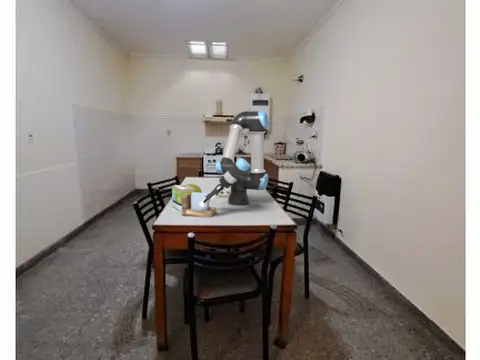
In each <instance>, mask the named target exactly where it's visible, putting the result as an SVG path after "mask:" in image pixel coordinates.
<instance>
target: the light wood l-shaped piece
mask: <svg viewBox="0 0 480 360" xmlns="http://www.w3.org/2000/svg"><path fill="white" fill-rule="evenodd" d="M191 194H192V193H187V194H185V195H183V196H182V211H181V216H182V217H197V218H207V219H208V218H212V217H213V216H214V215H216V214H217V207H216V206H215V207H214V206H209V210H195V209H191Z"/></svg>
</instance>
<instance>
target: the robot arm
mask: <svg viewBox="0 0 480 360" xmlns="http://www.w3.org/2000/svg"><path fill="white" fill-rule="evenodd" d="M269 127H270V121H269V116H268V113H267V112H266V111H260V110H259V111H258V110H257V111H255V110H253V111H251V110H250V111H247V110H246V111H241V112H239V113H238V114H236V115H235V116H234V117H233V119H231V122H230V125H229V133H228V137H227V140H226V143H225V146H224V150H223V153H222V157H221V160H219V161H216V164H215V172H216V173H217V174H222V176H221V177H220V178H219V180H218V181H219V184H217V185H216V186H215V187H214V189H212V190H211V191H210V192H208V193H209V194H208V195H207V196H206V197H205V198H204V199H203V200H202V201H201V202H200V203H199V205H200V206H201V207H203V206H204V205H205V204H206V203H207V202H208V201H209V203H210V202H211V201H213V199H214V198H215V197H216V196H217V197H218V196H219V194H220V192H222V191H223V190H224V189H229V188H230V192H229V195H228V199H227V203H228V204H230V205H234V206H235V205H236V206H245V205H248V204H249V203H250V200H249V196H248V190H255V191H265V190H266V188H267V187H268V183H269V174H268V173H267V171H266V169H264V168H265V167H264V166H265V165H264V161H265V159H264V153H265V152H264V149H265V148H264V147H265V145H264V143H265V142H264V140H265V139H264V136H265V133H266V132H267V130H268V129H269ZM245 129H246V130H248V132H249V134H250V144H251V145H250V149H251V150H250V152H251V153H250V156H251V157H250V163H249V162H248V161H247V160H246V159H245V158H243V157H242V158H239V159H238V160H236V162H235V161H234V159H235V155H236V152H237V149H238V146H239V142H240V138H241V135H242V133H243V132H244V130H245ZM208 196H209V197H208Z"/></svg>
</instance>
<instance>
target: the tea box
mask: <svg viewBox="0 0 480 360" xmlns="http://www.w3.org/2000/svg"><path fill="white" fill-rule="evenodd" d="M171 188H172V189H171V194H172V195H171V198H172V199H171V201H172V204H171V205H172V207H173V208H174V209H176V210H178V211H180V212H182V196H183V195H185V194H187V193H193V192H194V188H192V187H190V186H187V184H178V185H171Z"/></svg>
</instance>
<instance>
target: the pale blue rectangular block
mask: <svg viewBox="0 0 480 360" xmlns="http://www.w3.org/2000/svg"><path fill="white" fill-rule="evenodd" d="M209 193H210V192H202V193H197V192H193V193H192V194H191V209H195V210H209V207H210V202H209V201H208V202H207V203H206V204H205V205H204V206H203V207H201V206H200V205H199V203H200V202H201V201H202V200H203V199H204V198H205V197H206V196H207V195H208V194H209ZM208 197H209V196H208Z"/></svg>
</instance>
